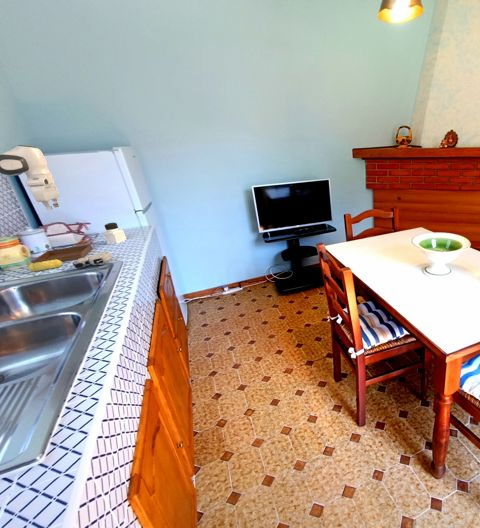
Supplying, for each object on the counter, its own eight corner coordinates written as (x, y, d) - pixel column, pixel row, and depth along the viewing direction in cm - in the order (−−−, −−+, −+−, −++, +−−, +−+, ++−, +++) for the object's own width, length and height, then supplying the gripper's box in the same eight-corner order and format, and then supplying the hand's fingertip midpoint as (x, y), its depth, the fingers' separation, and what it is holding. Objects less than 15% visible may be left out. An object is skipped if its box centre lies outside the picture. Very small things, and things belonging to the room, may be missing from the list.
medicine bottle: (127, 240, 185) (120, 221, 180) (117, 244, 179) (110, 224, 174) (117, 240, 186) (110, 221, 181) (107, 244, 180) (99, 225, 175)
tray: (34, 266, 148) (31, 261, 147) (49, 255, 164) (47, 250, 163) (82, 259, 156) (80, 253, 155) (92, 249, 172) (90, 244, 171)
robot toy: (72, 274, 139) (110, 264, 144) (67, 265, 137) (106, 256, 143) (79, 265, 149) (115, 257, 154) (75, 257, 147) (111, 249, 153)
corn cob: (28, 273, 140) (25, 265, 139) (32, 270, 144) (28, 262, 142) (61, 267, 145) (58, 260, 143) (64, 265, 148) (61, 257, 147)
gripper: (41, 179, 154) (53, 206, 160) (23, 182, 137) (37, 212, 143) (57, 178, 157) (68, 204, 162) (41, 181, 140) (54, 210, 145)
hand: (53, 208), depth 152 cm, fingers open, 8 cm apart
